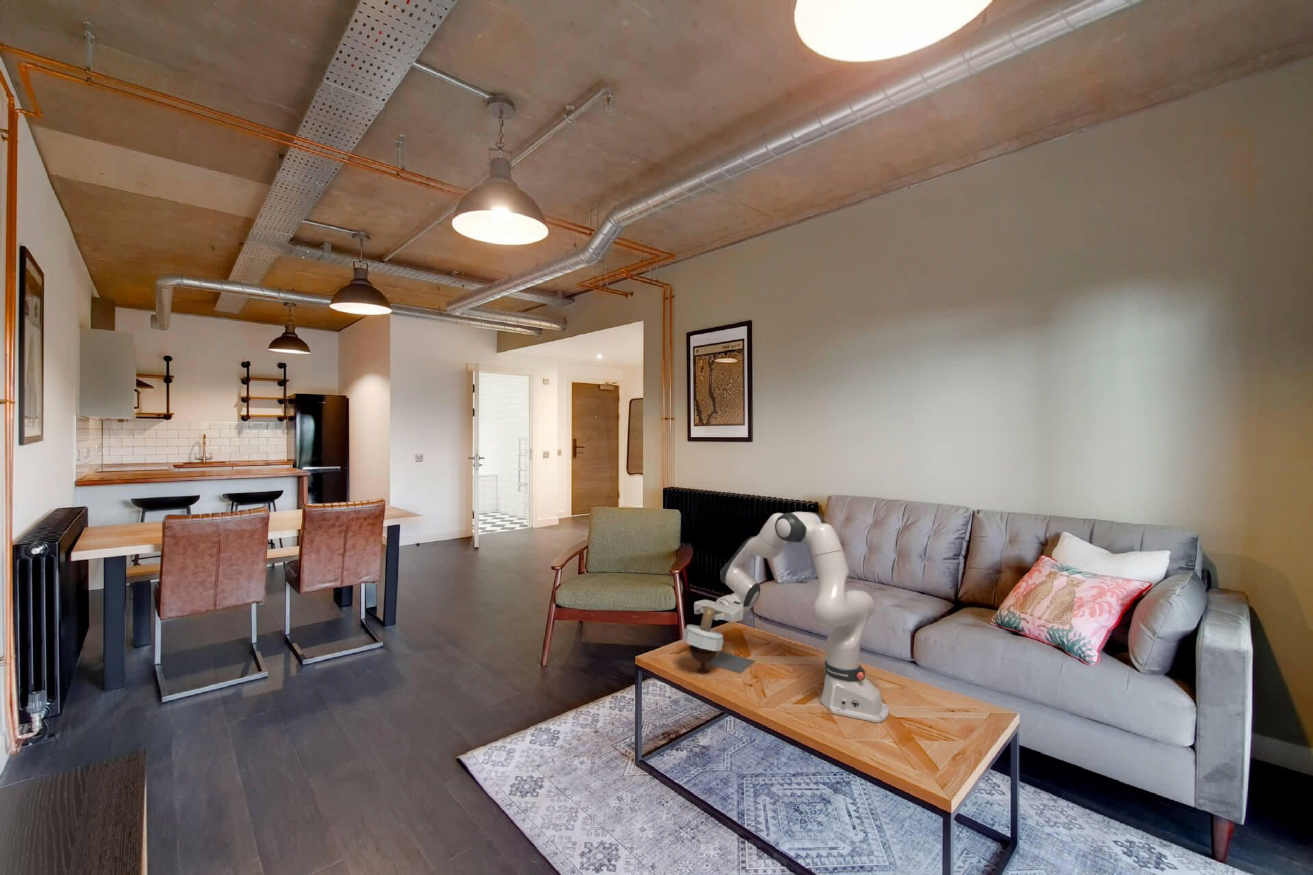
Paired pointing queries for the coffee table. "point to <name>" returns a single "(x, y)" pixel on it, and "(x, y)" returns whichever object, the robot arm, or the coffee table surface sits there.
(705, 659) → the ice cream bowl
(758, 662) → the coffee table surface
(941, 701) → the coffee table surface
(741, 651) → the coffee table surface
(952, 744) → the coffee table surface
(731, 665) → the mat
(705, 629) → the hexagonal peg stand
